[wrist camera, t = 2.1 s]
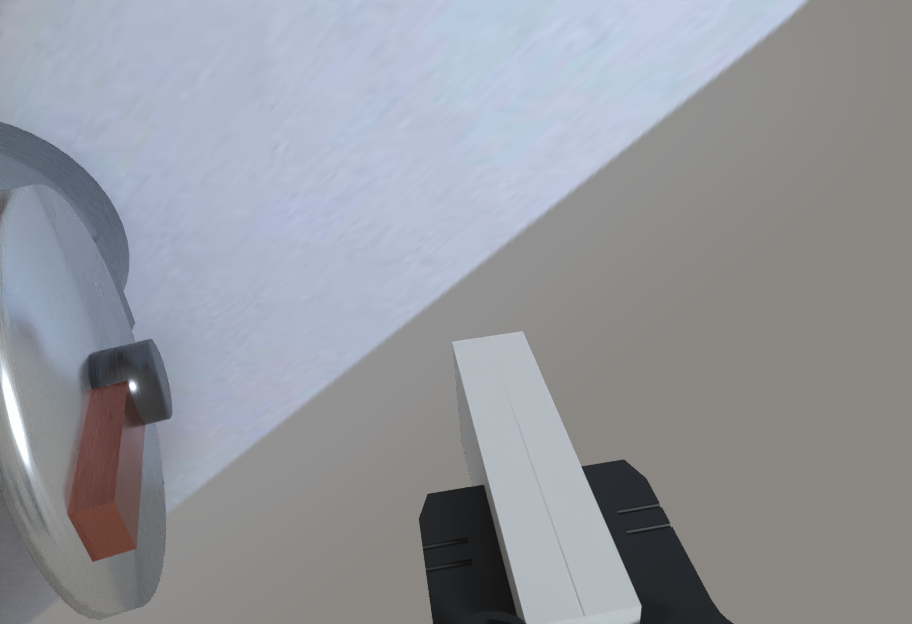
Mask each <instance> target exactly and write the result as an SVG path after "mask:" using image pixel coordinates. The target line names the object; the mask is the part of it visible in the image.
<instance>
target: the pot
mask: <svg viewBox="0 0 912 624" xmlns="http://www.w3.org/2000/svg"><path fill="white" fill-rule="evenodd" d="M29 185H44V186H47V187H49V188H51V189H53V190H54V191H56V192H57V193H58V194H60V195H61V196H62V197H63V198H64V199H65V200H66V201H67V202H68V203H69V205H70V206H71V207H72V208H73V210H74V211H75V212H76V214H77V215H78V216H79V218H80V219H81V221H82V222H83V224H84V225H85V227H86V228H87V230H88V232H89V233H90V235H91V237H92V239H93V241H94V242H95V244H96V246H97V248H98V250H99V252H100V254H101V256H102V258H103V260H104V262H105V264H106V266H107V269H108V271H109V273H110V275H111V278H112V280H113V282H114V285H115V287H116V290H117V292H118V295H119V297H120V300H121V303H122V305H123V308H124V311H125V313H126V316H127V319H128V322H129V325H130V328H131V331H132V329H133V326H134V324H135V321H134V318H133V316H132V313H131V311H130V308H129V305H128V303H127V300H126V297H125V295H124V292H123V291H124V288H125V286H126V282H127V277H128V272H129V250H128V242H127V238H126V235H125V231H124V228H123V225H122V222H121V220H120V218H119V216H118V213H117V211H116V209H115V208H114V206H113V204H112V203H111V201H110V199H109V198H108V196H107V195H106V193H105V192H104V191H103V190H102V188H101V187H100V186H99V184H98V183H97V182H96V181H95V180H94V179H93V178H92V177H91V176H90V175H89V174H88V173H87V171H86V170H85V169H84V168H83V167H81V166H80V165H79V164H78V163H77V162H75V161H74V160H73V159H72V158H71V157H69V156H68V155H67V154H65V153H64V152H62V151H61V150H59V149H58V148H56V147H55V146H53V145H52V144H50V143H48V142H47V141H45V140H43V139H41V138H39V137H37V136H35V135H33V134H32V133H29V132H27V131H24V130H22V129H19V128H17V127H14V126H12V125H9V124H5V123H2V122H0V190H6V189H11V188H17V187H23V186H29Z"/></svg>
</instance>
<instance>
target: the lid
mask: <svg viewBox="0 0 912 624" xmlns="http://www.w3.org/2000/svg"><path fill="white" fill-rule="evenodd" d="M171 416H172V401H171V393H170V388H169V383H168V379H167V375H166V371H165V367H164V364H163V361H162V358H161V356H160V353H159V351H158V349H157V346H156V345H155V343H154V342H153V340H151V339H148V340H144V341H140V342H135V341H134V337H133V334H132V331H131V328H130V325H129V322H128V319H127V316H126V313H125V311H124V308H123V305H122V303H121V300H120V297H119V295H118V292H117V290H116V287H115V285H114V282H113V280H112V278H111V275H110V273H109V271H108V269H107V266H106V264H105V262H104V260H103V258H102V256H101V254H100V252H99V250H98V248H97V246H96V244H95V242H94V241H93V239H92V237H91V235H90V233H89V232H88V230H87V228H86V227H85V225H84V224H83V222H82V221H81V219H80V218H79V216H78V215H77V214H76V212H75V211H74V210H73V208H72V207H71V206H70V205H69V203H68V202H67V201H66V200H65V199H64V198H63V197H62V196H61V195H60V194H58V193H57V192H56V191H54V190H53V189H51V188H49V187H47V186H44V185H29V186H23V187H17V188H11V189H6V190H0V488H1V491H2V494H3V496H4V499H5V502H6V505H7V507H8V509H9V512H10V514H11V516H12V518H13V520H14V523H15V525H16V527H17V529H18V532H19V534H20V536H21V538H22V540H23V542H24V544H25V545H26V547H27V549H28V551H29V553H30V555H31V557H32V558H33V560H34V562H35V564H36V565H37V567H38V568H39V570H40V571H41V573H42V574H43V576H44V577H45V579H46V580H47V582H48V583H49V585H50V586H51V587H52V588H53V589H54V590H55V592H56V593H57V594H58V595H59V596H60V597H61V599H62V600H63V601H64V602H65V603H67V604H68V605H69V606H70V607H71V608H73V609H74V610H75V611H76V612H78V613H80V614H82V615H84V616H86V617H88V618H91V619H99V620H101V619H104V618H108V617H111V616H114V615H117V614H121V613H123V612H127V611H130V610H133V609H136V608H139V607H142V606H144V605H145V604H147V603H148V602H149V601H150V600H151V598H152V597H153V595H154V593H155V592H156V589H157V586H158V584H159V581H160V577H161V573H162V568H163V562H164V554H165V540H166V509H165V492H164V481H163V472H162V463H161V456H160V449H159V443H158V436H157V431H156V426H155V422H159V421H162V420H166V419H170V418H171Z"/></svg>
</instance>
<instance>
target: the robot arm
mask: <svg viewBox="0 0 912 624" xmlns="http://www.w3.org/2000/svg"><path fill="white" fill-rule="evenodd" d="M452 347H453V358H454V369H455V379H456V390H457V400H458V411H459V422H460V432H461V441H462V446H463V450H464V454H465V458H466V463H467V467H468V472H469V476H470V480H471V484H472V487H466V488H461V489H455V490H448V491H443V492H437V493H431V494H427V497H426V500H425V503H424V506H423V509H422V512H421V514H420V517H419V523H420V530H421V538H422V545H423V553H424V560H425V567H426V575H427V582H428V590H429V597H430V604H431V612H432V619H433V624H733V623H732V622H730V621H729V620H727V619H726V618H725V617H724V616H723V615H722V614H721V613H720V612H719V610H718V609H717V607H716V606H715V605H714V603H713V602H712V600H711V598H710V596H709V594H708V593H707V591H706V589H705V587H704V585H703V583H702V582H701V580H700V578H699V576H698V574H697V572H696V570H695V568H694V566H693V565H692V563H691V561H690V559H689V557H688V555H687V554H686V552H685V550H684V548H683V546H682V544H681V542H680V540H679V539H678V537H677V535H676V533H675V531H674V529H673V527H671V526H670V522H669V520H668V518H667V516H666V514H665V513H664V511H663V509H662V507H660V505H659V501H658V500H657V497H656V496H655V494H654V492H653V490H652V488H651V486H650V484H649V482H648V481H647V479H646V478H645V477H644V476H643V475H641V474H640V473H639V472H638V471H637V470H636V469H635V468H633V467H632V466H631V465H630V464H628V463H627V462H626V461H625V460H618V461H612V462H606V463H600V464H594V465H588V466H582V467H581V465H580V463H579V460H578V458H577V456H576V453H575V451H574V449H573V447H572V444H571V442H570V440H569V437H568V435H567V433H566V430H565V428H564V426H563V424H562V421H561V419H560V416H559V414H558V412H557V410H556V407H555V405H554V403H553V400H552V398H551V396H550V393H549V391H548V389H547V386H546V384H545V382H544V380H543V377H542V375H541V373H540V370H539V368H538V366H537V364H536V361H535V359H534V356H533V354H532V352H531V349H530V347H529V345H528V343H527V340H526V338H525V336H524V333H523V332H515V333H509V334H502V335H495V336H488V337H482V338H475V339H468V340H462V341H455V342H452Z"/></svg>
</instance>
